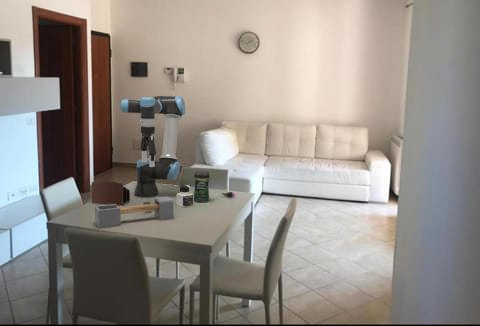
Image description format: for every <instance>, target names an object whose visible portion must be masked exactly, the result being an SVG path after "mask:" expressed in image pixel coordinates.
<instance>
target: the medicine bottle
mask: <svg viewBox="0 0 480 326" xmlns="http://www.w3.org/2000/svg"><path fill="white" fill-rule="evenodd" d="M176 206H178V207H181V208H184V209H185V208H188V207H189V208H190V207H193V206H194V193H191V186H190V185H188V184H183V185H180V186H179V192H178V193H176Z"/></svg>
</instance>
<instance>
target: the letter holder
mask: <svg viewBox="0 0 480 326" xmlns="http://www.w3.org/2000/svg"><path fill="white" fill-rule="evenodd" d="M130 198H131V191H130V188H129V189H128V188H127V187H126V186H124V185H123V183H120V182H116V181H110V180H109V181H108V180H94V181H92V182H91V204H95V203H97V204H96V205H98V204H99V205H110V204H116V206H121V207H125V205H127V204H129V203H130V202H131V199H130Z"/></svg>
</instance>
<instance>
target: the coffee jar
mask: <svg viewBox="0 0 480 326" xmlns="http://www.w3.org/2000/svg"><path fill="white" fill-rule="evenodd" d="M210 178H211V177H210V173H209V171H204V170H203V171H199V170H198V171H195V172H194V175H193V179H194V191H193V202H196V203H208V202H209V201H210V190H209V188H210V187H209V186H210V185H209V183H210Z"/></svg>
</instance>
